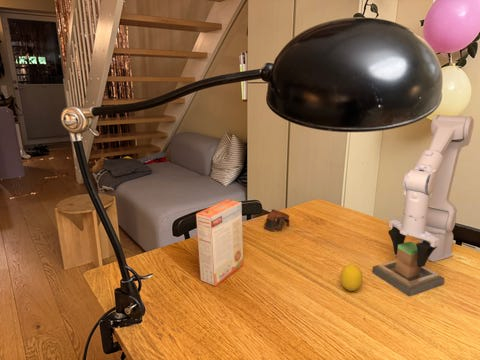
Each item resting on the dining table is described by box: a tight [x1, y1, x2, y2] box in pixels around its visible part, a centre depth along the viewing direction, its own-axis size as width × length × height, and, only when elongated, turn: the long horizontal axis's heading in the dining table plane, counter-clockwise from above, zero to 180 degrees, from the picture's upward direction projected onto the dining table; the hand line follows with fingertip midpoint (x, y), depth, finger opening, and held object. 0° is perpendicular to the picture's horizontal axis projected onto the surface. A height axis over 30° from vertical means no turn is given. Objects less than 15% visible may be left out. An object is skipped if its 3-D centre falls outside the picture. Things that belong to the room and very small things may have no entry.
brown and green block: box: [395, 241, 421, 278], centre depth 96 cm, size 4×4×8 cm
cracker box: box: [195, 198, 244, 287], centre depth 99 cm, size 14×6×21 cm, turn 145°
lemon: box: [339, 263, 363, 292], centre depth 91 cm, size 6×6×8 cm
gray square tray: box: [371, 259, 445, 297], centre depth 97 cm, size 13×13×3 cm
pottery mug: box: [263, 209, 290, 233], centre depth 132 cm, size 12×10×8 cm
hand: (409, 259), depth 96 cm, fingers open, 7 cm apart
